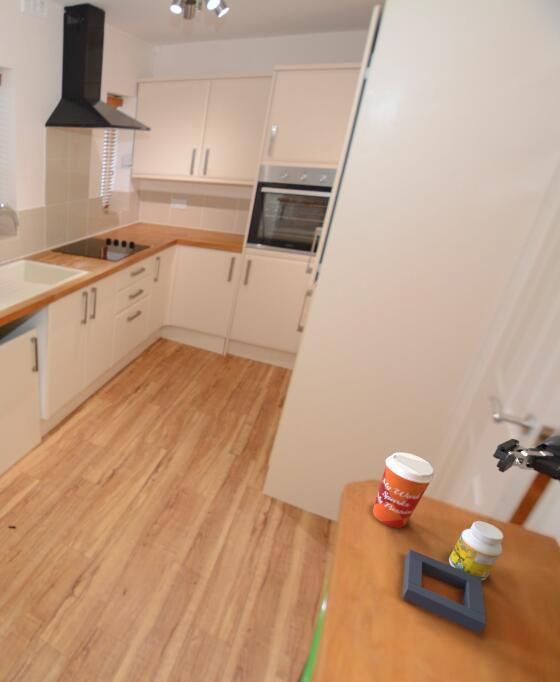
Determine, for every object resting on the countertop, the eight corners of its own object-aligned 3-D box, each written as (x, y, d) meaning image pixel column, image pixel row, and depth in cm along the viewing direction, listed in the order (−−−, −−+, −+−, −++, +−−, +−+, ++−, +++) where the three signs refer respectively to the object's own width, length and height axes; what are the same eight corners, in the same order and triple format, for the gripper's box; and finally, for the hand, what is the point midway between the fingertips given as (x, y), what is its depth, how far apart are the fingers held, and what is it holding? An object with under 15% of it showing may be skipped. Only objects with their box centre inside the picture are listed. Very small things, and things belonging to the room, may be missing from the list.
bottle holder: (475, 588, 79) (481, 578, 78) (479, 634, 72) (486, 624, 71) (405, 558, 85) (409, 548, 84) (402, 598, 77) (407, 588, 76)
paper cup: (361, 515, 94) (382, 462, 88) (373, 497, 98) (394, 445, 92) (406, 539, 89) (432, 483, 82) (417, 518, 93) (442, 465, 87)
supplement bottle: (491, 586, 79) (515, 547, 75) (454, 575, 81) (475, 537, 77) (478, 561, 84) (500, 523, 80) (443, 552, 86) (463, 514, 82)
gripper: (613, 492, 83) (578, 525, 76) (513, 448, 95) (475, 473, 88) (636, 460, 80) (601, 491, 73) (529, 418, 91) (491, 442, 84)
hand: (532, 481), depth 80 cm, fingers open, 8 cm apart
